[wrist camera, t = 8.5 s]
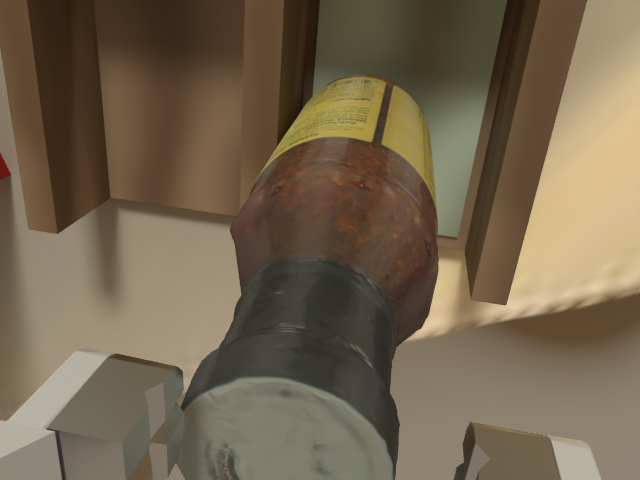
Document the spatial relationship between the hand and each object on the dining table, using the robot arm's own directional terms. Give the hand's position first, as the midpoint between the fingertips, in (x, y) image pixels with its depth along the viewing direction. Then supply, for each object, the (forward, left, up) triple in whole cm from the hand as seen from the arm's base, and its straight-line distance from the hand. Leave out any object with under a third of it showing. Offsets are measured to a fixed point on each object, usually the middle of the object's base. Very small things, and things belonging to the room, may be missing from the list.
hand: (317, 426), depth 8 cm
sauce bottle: (-1, -1, -21) cm, 21 cm away
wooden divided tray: (-5, +1, -22) cm, 22 cm away
